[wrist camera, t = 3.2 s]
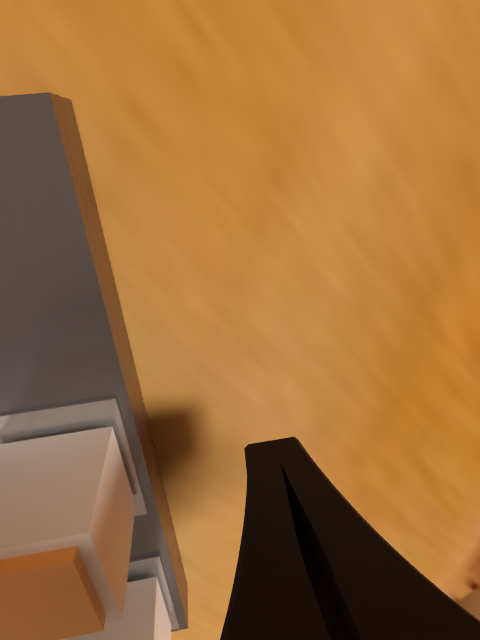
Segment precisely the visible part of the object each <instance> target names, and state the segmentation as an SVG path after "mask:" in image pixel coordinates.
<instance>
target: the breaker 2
mask: <svg viewBox="0 0 480 640" xmlns="http://www.w3.org/2000/svg"><path fill="white" fill-rule="evenodd" d="M61 640H171V624H170V620H169V617H168V613H167V610H166V607H165V603H164V600H163V596H162V593H161V590H160V586H159V583H158V579H157V577H153V578H148V579H143V580H138V581H133V582H127V586H126V595H125V603H124V612H123V620H119V621H114V622H109V623H105V624H104V631H100V632H95V633H90V634H85V635H80V636H76V637H71V638H66V639H61Z"/></svg>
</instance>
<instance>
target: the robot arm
mask: <svg viewBox="0 0 480 640" xmlns="http://www.w3.org/2000/svg"><path fill="white" fill-rule="evenodd" d="M244 449H245V459H246V469H247V494H246V505H245V516H244V525H243V532H242V538H241V545H240V551H239V557H238V563H237V568H236V574H235V579H234V583H233V588H232V593H231V597H230V602H229V606H228V610H227V615H226V619H225V623H224V626H223V630H222V634H221V638H220V640H480V621H479V620H478V619H476V618H475V617H474V616H473V615H471V614H470V613H469V612H467V611H466V610H465V609H463V608H462V607H461V606H460V605H459V604H457V603H456V602H455V601H453V600H452V599H451V598H450V597H448V596H447V595H446V594H445V593H444V592H442V591H441V590H440V589H439V588H438V587H437V586H435V585H434V584H433V583H432V582H431V581H430V580H428V579H427V578H426V577H425V576H424V575H422V574H421V573H420V572H419V571H418V570H417V569H416V568H415V567H413V566H412V565H411V564H410V563H409V562H408V561H407V560H406V559H405V558H403V557H402V556H401V555H400V554H399V553H398V552H397V551H396V550H395V549H394V548H393V547H392V546H391V545H390V544H389V543H388V542H387V541H385V540H384V539H383V538H382V537H381V536H380V535H379V534H378V533H377V532H376V531H375V530H374V529H373V528H372V527H371V526H370V525H369V523H368V522H367V521H366V520H365V519H364V518H363V517H362V516H361V515H360V514H359V513H358V512H357V511H356V510H355V509H354V508H353V507H352V506H351V504H350V503H349V502H348V501H347V500H346V499H345V498H344V497H343V495H342V494H341V493H340V492H339V491H338V490H337V489H336V488H335V486H334V485H333V484H332V483H331V482H330V481H329V479H328V478H327V477H326V476H325V475H324V473H323V472H322V471H321V470H320V468H319V467H318V466H317V465H316V463H315V462H314V461H313V459H312V458H311V457H310V456H309V454H308V453H307V451H306V450H305V449H304V447H303V446H302V444H301V443H300V442H299V440H298V439H297V438H295V437H289V438H284V439H278V440H272V441H266V442H260V443H254V444H248V445H247V446H246V447H245V448H244Z"/></svg>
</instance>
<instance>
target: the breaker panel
mask: <svg viewBox="0 0 480 640" xmlns="http://www.w3.org/2000/svg"><path fill="white" fill-rule="evenodd" d="M112 426H113V430H114V433H115V437H116V440H117V443H118V447H119V450H120V454H121V457H122V460H123V464H124V467H125V471H126V474H127V477H128V481H129V484H130V488H131V491H132V494H133V498H134V501H135V505H136V507H135V516H134V524H133V533H132V542H131V551H130V560H129V568H128V577H127V582H133V581H138V580H143V579H148V578H153V577H157V579H158V583H159V586H160V590H161V593H162V596H163V600H164V603H165V607H166V610H167V613H168V617H169V620H170V624H171V632H172V631H177V630H182V629H187V628H188V592H187V582H186V577H185V573H184V569H183V565H182V561H181V557H180V552H179V548H178V544H177V540H176V536H175V532H174V527H173V523H172V519H171V515H170V511H169V507H168V502H167V498H166V494H165V490H164V486H163V481H162V477H161V473H160V469H159V465H158V461H157V456H156V452H155V448H154V444H153V440H152V436H151V431H150V427H149V423H148V419H147V415H146V411H145V406H144V402H143V398H142V394H141V390H140V385H139V381H138V377H137V373H136V369H135V365H134V360H133V356H132V352H131V348H130V344H129V340H128V335H127V331H126V327H125V323H124V319H123V315H122V310H121V306H120V302H119V298H118V294H117V289H116V285H115V281H114V277H113V273H112V269H111V264H110V260H109V256H108V252H107V248H106V244H105V239H104V235H103V231H102V227H101V223H100V219H99V214H98V210H97V206H96V202H95V198H94V193H93V189H92V185H91V181H90V177H89V173H88V168H87V164H86V160H85V156H84V152H83V148H82V143H81V139H80V135H79V131H78V127H77V123H76V118H75V114H74V110H73V106H72V102H71V100H70V99H67V98H64V97H61V96H58V95H55V94H52V93H38V94H25V95H12V96H0V444H5V443H12V442H18V441H24V440H30V439H37V438H43V437H49V436H55V435H62V434H68V433H74V432H80V431H87V430H93V429H99V428H106V427H112Z"/></svg>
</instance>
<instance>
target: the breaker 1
mask: <svg viewBox="0 0 480 640" xmlns="http://www.w3.org/2000/svg"><path fill="white" fill-rule="evenodd" d="M135 507H136V505H135V501H134V498H133V494H132V491H131V488H130V484H129V481H128V477H127V474H126V471H125V467H124V464H123V460H122V457H121V454H120V450H119V447H118V443H117V440H116V437H115V433H114V430H113V426H112V427H106V428H99V429H93V430H87V431H80V432H74V433H68V434H62V435H55V436H49V437H43V438H37V439H30V440H24V441H18V442H12V443H5V444H0V640H61V639H66V638H71V637H76V636H80V635H85V634H90V633H95V632H100V631H104V624H105V623H109V622H114V621H119V620H123V612H124V603H125V595H126V586H127V577H128V568H129V560H130V551H131V542H132V533H133V524H134V516H135Z"/></svg>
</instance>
